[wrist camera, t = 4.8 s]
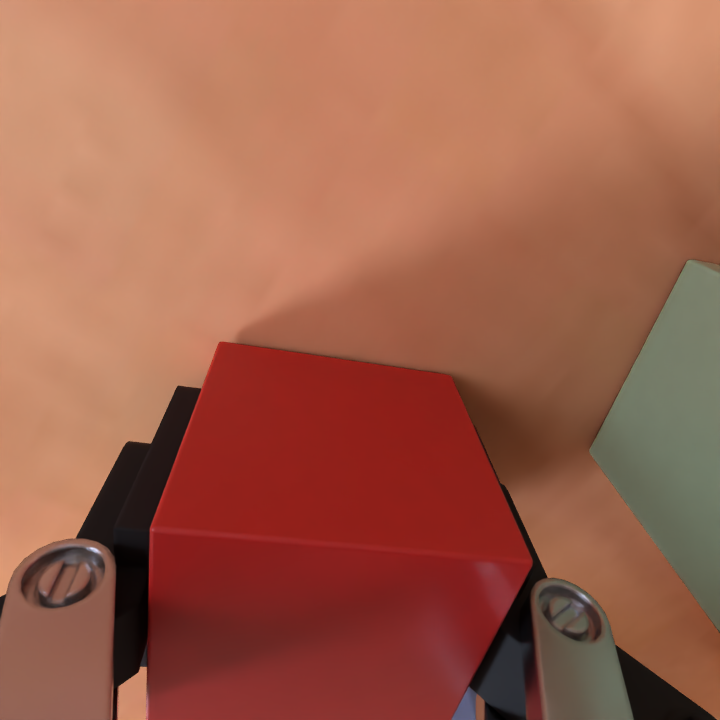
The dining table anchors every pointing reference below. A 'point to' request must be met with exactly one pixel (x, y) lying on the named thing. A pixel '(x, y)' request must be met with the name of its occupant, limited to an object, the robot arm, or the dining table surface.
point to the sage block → (674, 434)
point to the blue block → (466, 707)
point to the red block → (326, 546)
